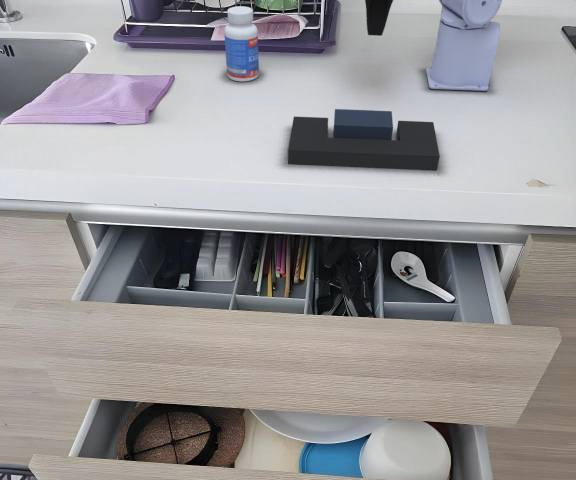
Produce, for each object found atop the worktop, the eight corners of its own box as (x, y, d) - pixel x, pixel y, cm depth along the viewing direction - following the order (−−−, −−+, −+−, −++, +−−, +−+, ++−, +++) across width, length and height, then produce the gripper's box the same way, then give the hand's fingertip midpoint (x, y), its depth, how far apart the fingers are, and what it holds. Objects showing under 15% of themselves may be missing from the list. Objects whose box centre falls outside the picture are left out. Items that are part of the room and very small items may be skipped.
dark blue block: (388, 135, 84) (391, 111, 82) (389, 152, 81) (393, 127, 78) (333, 133, 85) (334, 108, 82) (332, 149, 81) (333, 124, 79)
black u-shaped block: (430, 135, 84) (433, 121, 83) (436, 170, 78) (439, 156, 76) (293, 130, 85) (293, 116, 84) (288, 163, 79) (288, 149, 77)
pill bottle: (254, 83, 96) (252, 17, 89) (223, 81, 97) (218, 14, 89) (262, 71, 100) (260, 5, 92) (232, 68, 100) (227, 3, 93)
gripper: (356, -101, 82) (348, 9, 92) (355, -78, 73) (347, 42, 83) (406, -100, 82) (392, 10, 92) (412, -77, 72) (396, 43, 83)
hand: (374, 25), depth 87 cm, fingers open, 7 cm apart
